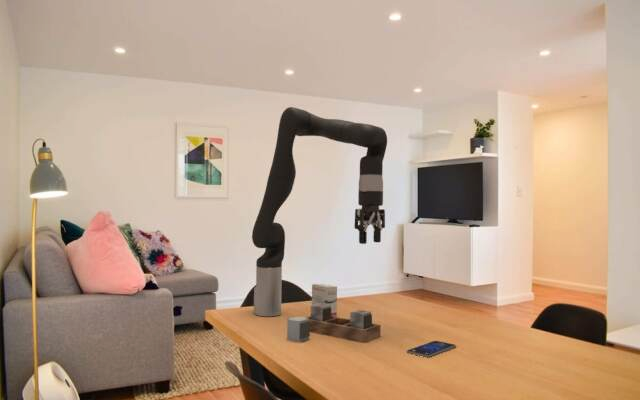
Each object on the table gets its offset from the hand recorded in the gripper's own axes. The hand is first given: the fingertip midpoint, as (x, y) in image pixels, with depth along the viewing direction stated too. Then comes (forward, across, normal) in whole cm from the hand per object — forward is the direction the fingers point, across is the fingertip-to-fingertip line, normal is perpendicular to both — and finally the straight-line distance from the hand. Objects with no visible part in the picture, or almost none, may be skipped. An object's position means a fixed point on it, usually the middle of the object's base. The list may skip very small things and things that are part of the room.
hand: (370, 242), depth 144 cm
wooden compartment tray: (+28, +4, -8) cm, 29 cm away
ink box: (+28, -8, -23) cm, 38 cm away
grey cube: (+28, +18, -13) cm, 36 cm away
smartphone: (+28, +3, +22) cm, 36 cm away
